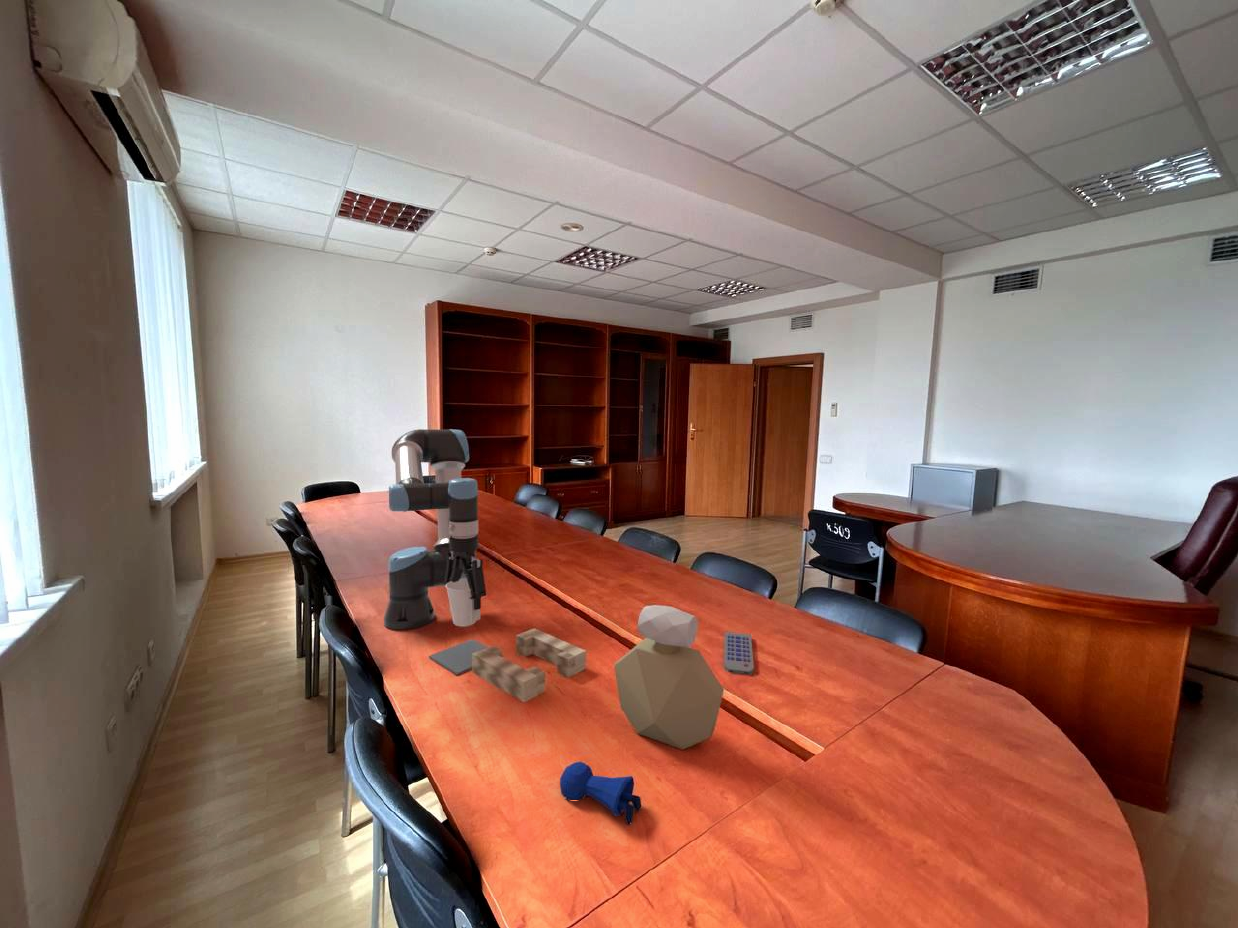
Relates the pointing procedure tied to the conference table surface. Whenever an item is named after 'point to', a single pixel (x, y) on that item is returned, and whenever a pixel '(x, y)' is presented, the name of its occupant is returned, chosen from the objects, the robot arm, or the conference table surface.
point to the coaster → (458, 656)
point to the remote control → (738, 653)
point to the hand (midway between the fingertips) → (464, 615)
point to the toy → (600, 789)
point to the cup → (460, 602)
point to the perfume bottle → (668, 680)
